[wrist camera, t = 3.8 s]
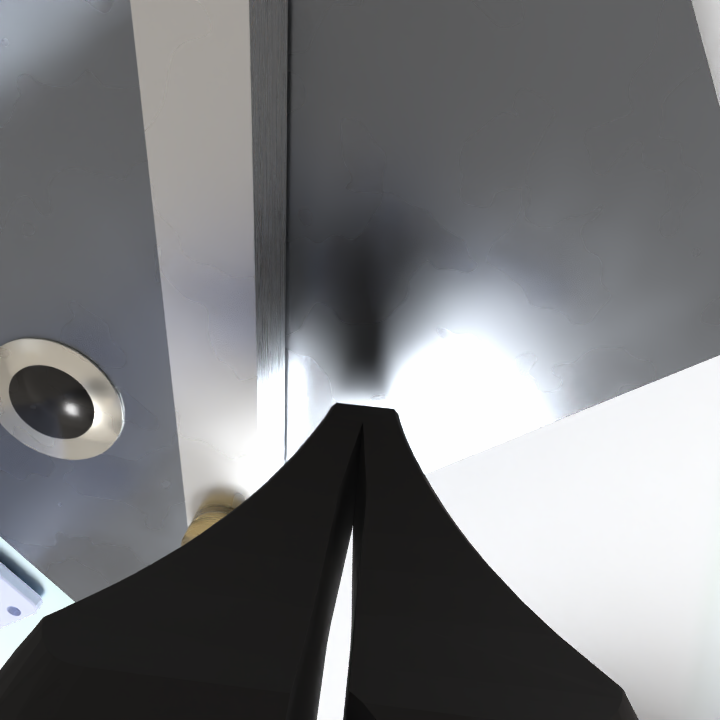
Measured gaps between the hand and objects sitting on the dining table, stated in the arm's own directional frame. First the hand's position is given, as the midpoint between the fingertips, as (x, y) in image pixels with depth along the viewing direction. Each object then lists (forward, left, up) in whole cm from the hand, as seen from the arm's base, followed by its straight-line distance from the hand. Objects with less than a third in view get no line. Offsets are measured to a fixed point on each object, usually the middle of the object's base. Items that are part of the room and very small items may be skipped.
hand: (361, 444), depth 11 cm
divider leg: (-1, +4, -2) cm, 4 cm away
